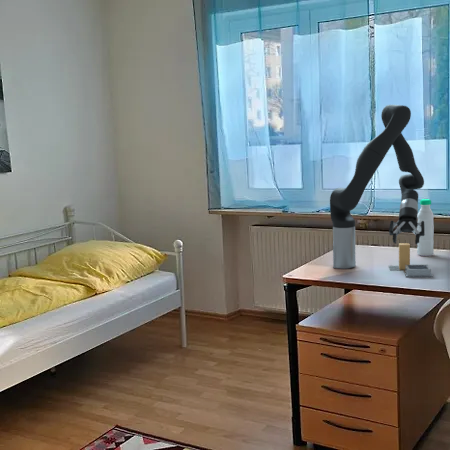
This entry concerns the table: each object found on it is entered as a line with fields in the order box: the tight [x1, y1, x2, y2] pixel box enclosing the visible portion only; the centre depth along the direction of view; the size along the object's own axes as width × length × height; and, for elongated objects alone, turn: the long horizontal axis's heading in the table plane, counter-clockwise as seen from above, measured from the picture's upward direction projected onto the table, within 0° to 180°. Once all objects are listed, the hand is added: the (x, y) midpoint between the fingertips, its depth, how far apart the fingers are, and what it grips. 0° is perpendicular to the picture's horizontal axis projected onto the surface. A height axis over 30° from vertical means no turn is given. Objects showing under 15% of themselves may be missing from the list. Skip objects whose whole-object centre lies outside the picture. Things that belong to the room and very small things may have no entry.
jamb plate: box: [388, 265, 405, 272], centre depth 263 cm, size 12×9×1 cm
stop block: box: [398, 242, 411, 269], centre depth 263 cm, size 4×4×10 cm
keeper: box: [402, 264, 434, 278], centre depth 252 cm, size 10×10×3 cm
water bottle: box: [416, 198, 435, 257], centre depth 288 cm, size 7×7×25 cm
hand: (405, 242), depth 267 cm, fingers open, 8 cm apart
